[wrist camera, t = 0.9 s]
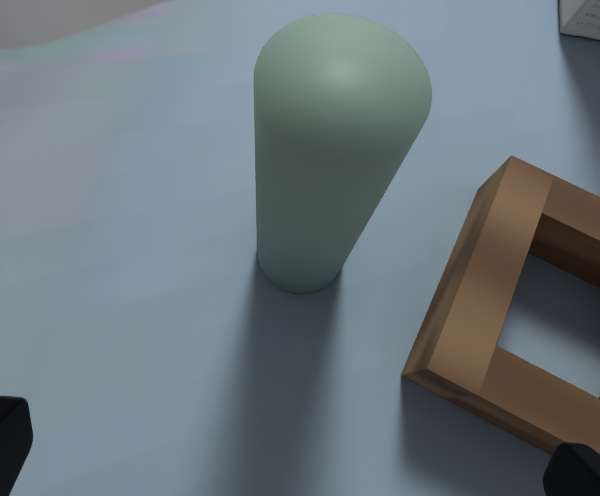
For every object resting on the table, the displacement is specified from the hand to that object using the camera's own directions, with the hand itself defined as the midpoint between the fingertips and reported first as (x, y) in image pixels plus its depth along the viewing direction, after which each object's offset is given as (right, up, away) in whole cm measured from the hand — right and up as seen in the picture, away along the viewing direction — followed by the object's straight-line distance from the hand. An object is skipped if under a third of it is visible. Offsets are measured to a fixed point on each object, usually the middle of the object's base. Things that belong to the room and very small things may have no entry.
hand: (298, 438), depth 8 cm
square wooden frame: (+12, -1, +15) cm, 19 cm away
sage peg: (0, +3, +15) cm, 15 cm away
